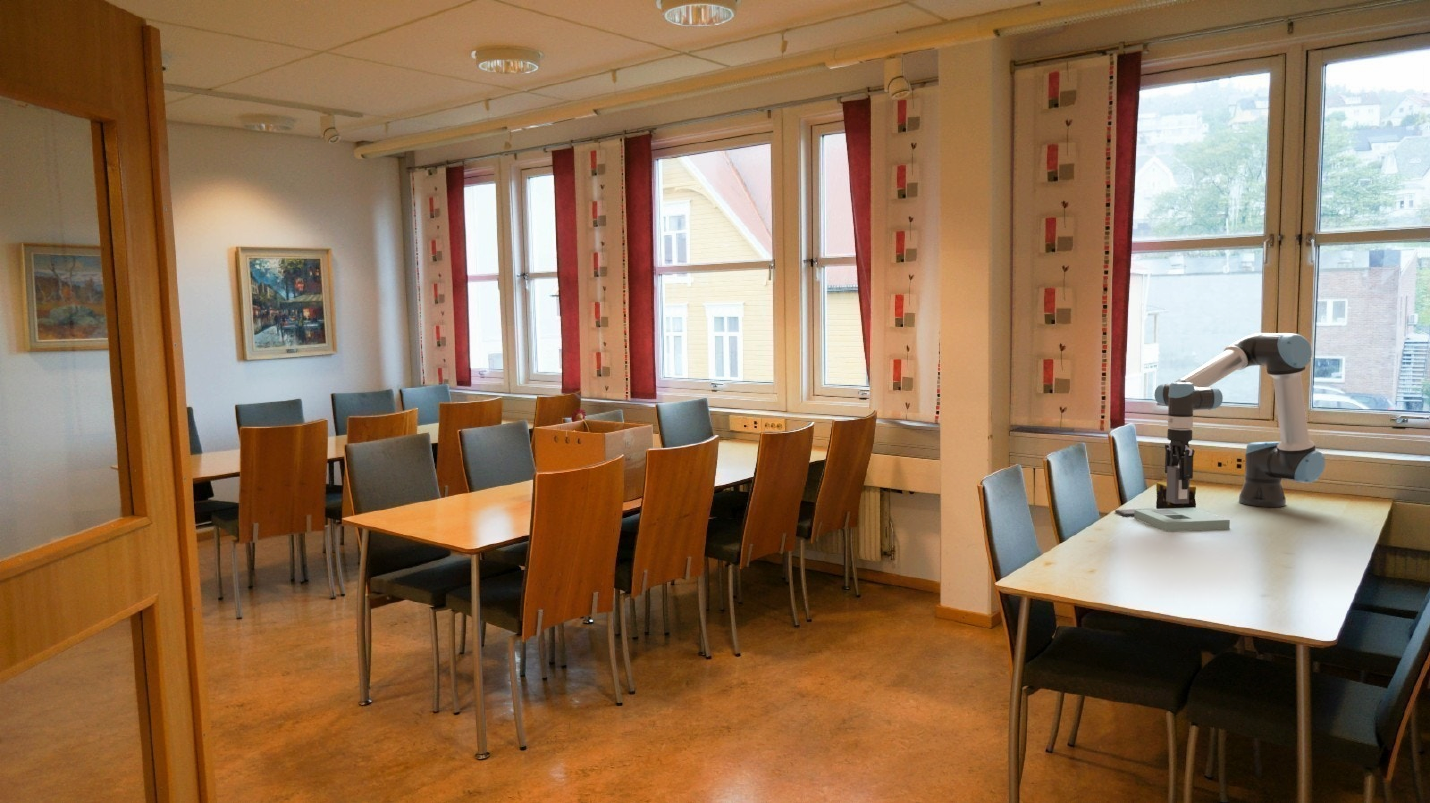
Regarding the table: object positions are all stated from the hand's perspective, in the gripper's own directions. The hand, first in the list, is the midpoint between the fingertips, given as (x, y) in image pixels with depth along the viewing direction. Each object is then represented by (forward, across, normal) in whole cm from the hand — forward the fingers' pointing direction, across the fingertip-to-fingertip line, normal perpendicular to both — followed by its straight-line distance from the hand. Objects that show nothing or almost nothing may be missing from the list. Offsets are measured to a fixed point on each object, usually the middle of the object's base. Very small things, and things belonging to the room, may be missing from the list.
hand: (1177, 496), depth 321 cm
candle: (+10, -21, +12) cm, 26 cm away
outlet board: (+10, -3, +3) cm, 11 cm away
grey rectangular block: (+2, 0, 0) cm, 2 cm away
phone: (+10, -19, -3) cm, 22 cm away
